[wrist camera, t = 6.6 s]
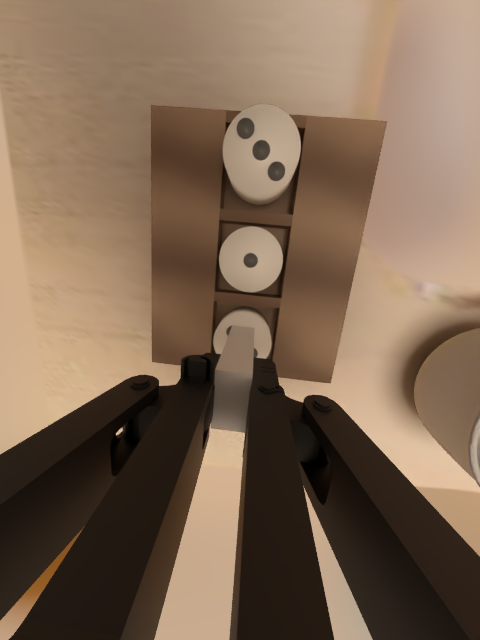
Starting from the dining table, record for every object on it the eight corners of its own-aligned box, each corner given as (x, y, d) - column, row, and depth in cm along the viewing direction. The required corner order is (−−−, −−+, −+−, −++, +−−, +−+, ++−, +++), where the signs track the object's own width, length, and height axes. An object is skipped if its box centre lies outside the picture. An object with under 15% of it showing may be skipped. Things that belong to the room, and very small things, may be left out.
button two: (221, 303, 18) (215, 311, 16) (272, 309, 18) (275, 318, 15) (217, 351, 19) (211, 366, 17) (266, 357, 19) (267, 373, 16)
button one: (226, 229, 17) (221, 223, 14) (282, 234, 17) (287, 229, 14) (222, 284, 18) (216, 289, 15) (275, 290, 18) (278, 295, 15)
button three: (231, 130, 14) (225, 100, 12) (297, 135, 14) (307, 106, 11) (226, 202, 15) (219, 189, 13) (287, 207, 15) (294, 196, 12)
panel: (166, 127, 17) (151, 105, 14) (367, 142, 16) (387, 121, 14) (164, 350, 21) (152, 361, 18) (321, 368, 20) (330, 383, 18)
